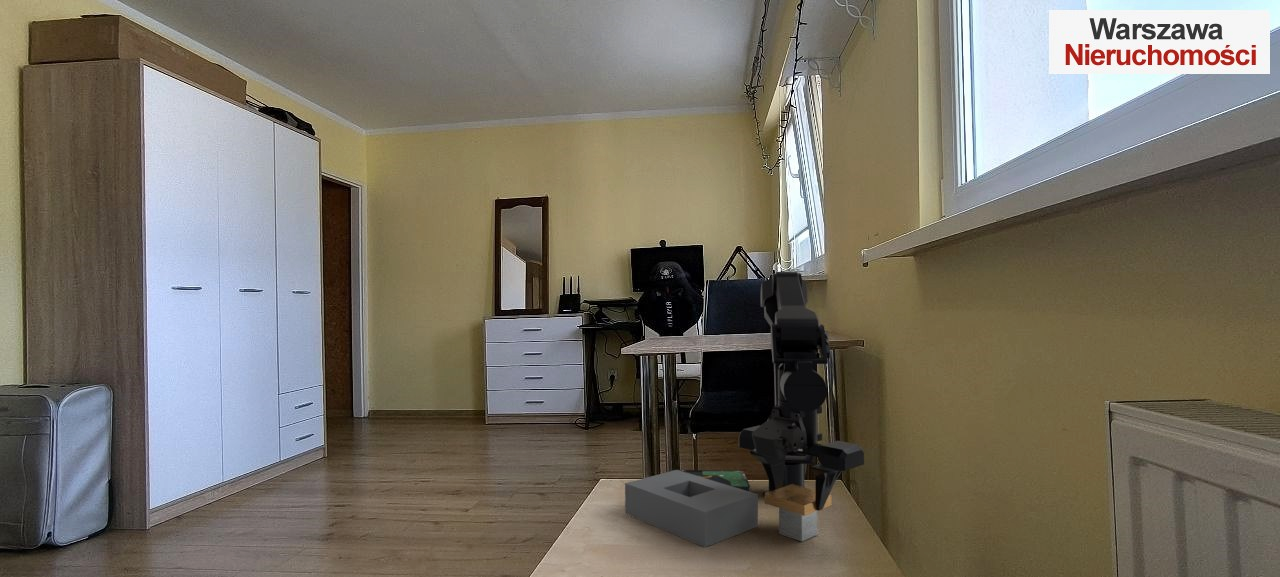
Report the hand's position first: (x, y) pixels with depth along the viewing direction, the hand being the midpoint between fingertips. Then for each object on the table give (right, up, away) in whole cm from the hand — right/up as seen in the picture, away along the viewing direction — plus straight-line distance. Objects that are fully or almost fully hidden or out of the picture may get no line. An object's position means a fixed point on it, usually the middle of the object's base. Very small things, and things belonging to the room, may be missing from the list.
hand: (798, 503), depth 91 cm
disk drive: (-11, -6, +22) cm, 25 cm away
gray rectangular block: (-16, -5, +6) cm, 18 cm away
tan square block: (0, -5, 0) cm, 5 cm away
